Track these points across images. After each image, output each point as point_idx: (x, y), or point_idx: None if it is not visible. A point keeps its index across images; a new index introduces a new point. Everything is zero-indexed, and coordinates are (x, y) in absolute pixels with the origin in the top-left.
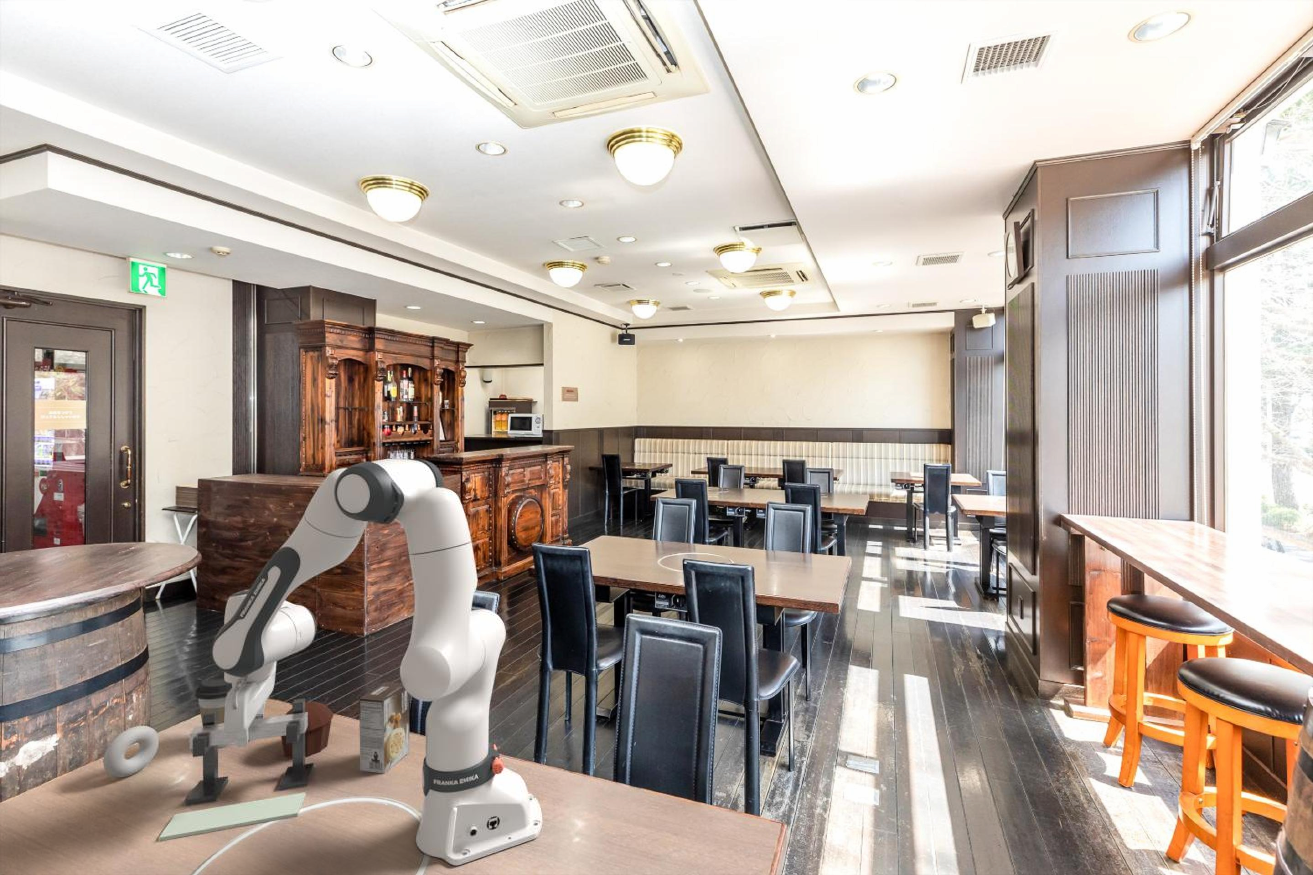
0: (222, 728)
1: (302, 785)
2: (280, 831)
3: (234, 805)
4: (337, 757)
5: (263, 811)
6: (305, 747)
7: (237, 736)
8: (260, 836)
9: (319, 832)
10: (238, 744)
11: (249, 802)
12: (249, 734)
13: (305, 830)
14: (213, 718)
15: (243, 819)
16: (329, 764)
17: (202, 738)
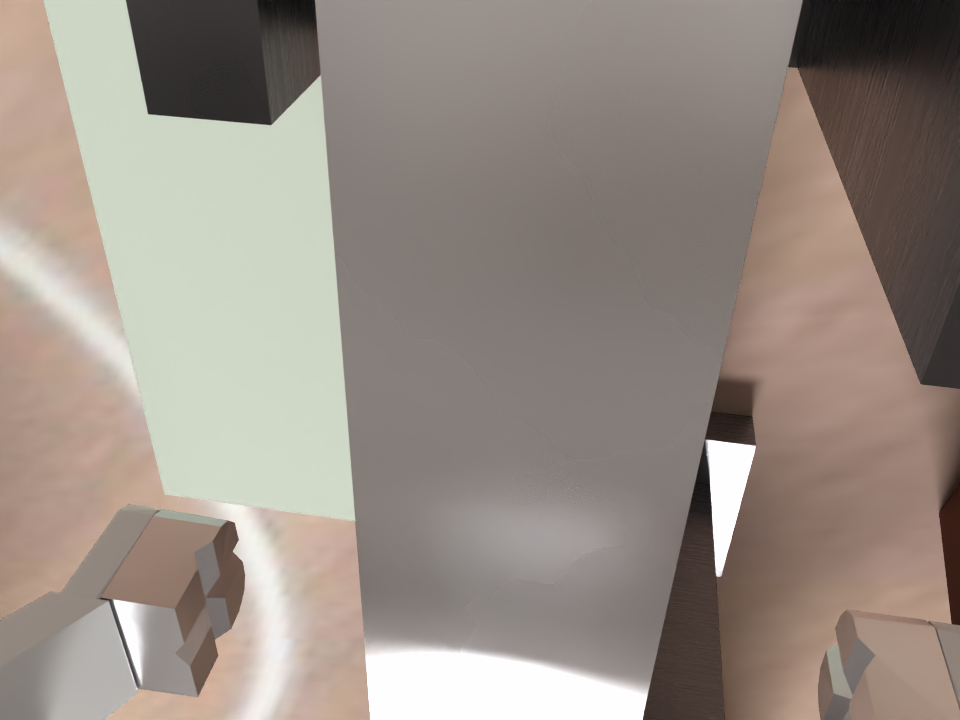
0: (406, 418)
1: None
2: (43, 419)
3: None
4: (796, 647)
5: (214, 339)
6: (954, 569)
7: (8, 632)
8: (5, 338)
9: (25, 554)
10: (115, 531)
11: None
12: (189, 687)
13: (44, 510)
14: (887, 254)
15: (142, 242)
16: (720, 611)
17: (141, 65)
